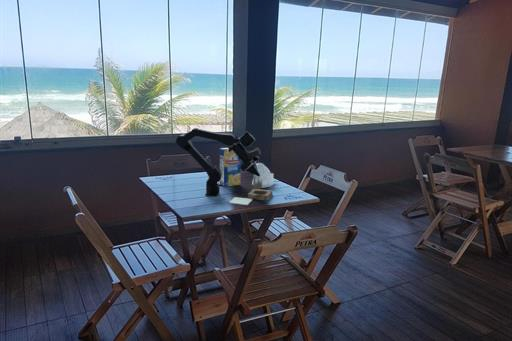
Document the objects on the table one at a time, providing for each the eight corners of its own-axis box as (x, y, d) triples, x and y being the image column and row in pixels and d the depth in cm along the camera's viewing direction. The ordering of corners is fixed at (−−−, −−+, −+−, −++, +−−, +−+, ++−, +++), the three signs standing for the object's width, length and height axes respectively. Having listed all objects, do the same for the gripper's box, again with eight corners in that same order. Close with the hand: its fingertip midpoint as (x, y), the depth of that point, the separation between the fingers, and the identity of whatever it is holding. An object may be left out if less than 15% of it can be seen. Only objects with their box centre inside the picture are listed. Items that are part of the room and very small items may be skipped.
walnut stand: (247, 198, 202) (247, 194, 201) (253, 193, 212) (253, 188, 212) (267, 200, 199) (267, 196, 198) (272, 195, 209) (272, 190, 209)
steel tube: (252, 187, 201) (252, 164, 198) (254, 184, 206) (255, 162, 203) (261, 188, 200) (262, 165, 197) (263, 185, 205) (264, 163, 202)
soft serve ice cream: (278, 189, 227) (279, 168, 220) (254, 192, 224) (254, 171, 218) (273, 179, 238) (273, 159, 231) (250, 181, 235) (249, 161, 228)
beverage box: (219, 183, 230) (219, 148, 225) (235, 182, 235) (236, 147, 230) (223, 186, 224) (224, 150, 219) (240, 184, 229) (241, 149, 224)
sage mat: (228, 203, 193) (228, 202, 193) (234, 197, 202) (234, 197, 202) (247, 205, 191) (247, 204, 191) (252, 199, 200) (252, 199, 200)
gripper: (247, 145, 190) (267, 169, 190) (256, 140, 207) (275, 162, 207) (232, 159, 193) (252, 182, 193) (242, 153, 211) (260, 174, 211)
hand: (260, 174), depth 201 cm, fingers closed on steel tube, 5 cm apart
